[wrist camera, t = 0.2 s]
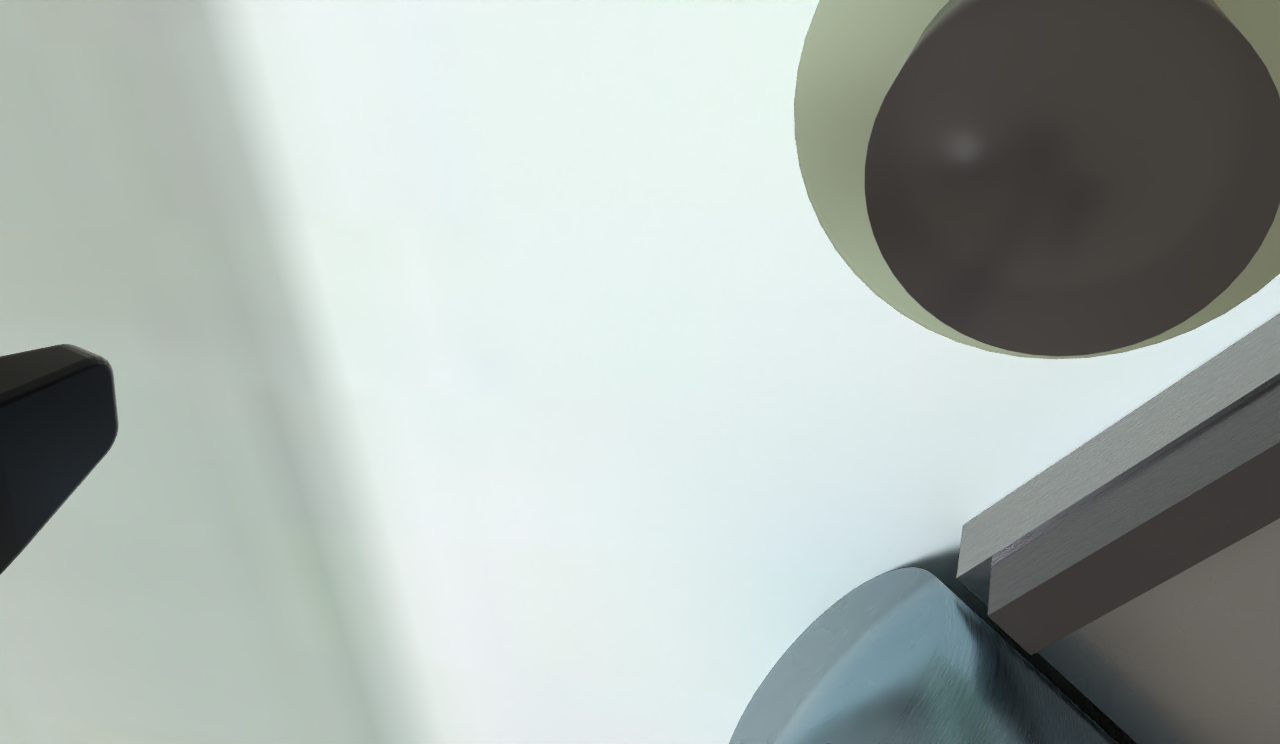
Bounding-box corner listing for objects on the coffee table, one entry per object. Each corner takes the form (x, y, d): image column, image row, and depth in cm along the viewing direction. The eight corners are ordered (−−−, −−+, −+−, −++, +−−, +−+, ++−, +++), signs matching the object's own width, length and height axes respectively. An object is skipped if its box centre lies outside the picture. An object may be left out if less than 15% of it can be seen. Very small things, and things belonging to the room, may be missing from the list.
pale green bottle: (1130, 149, 19) (1224, 543, 9) (873, 67, 20) (682, 337, 10) (1277, -142, 17) (1655, -67, 6) (973, -222, 17) (859, -274, 7)
